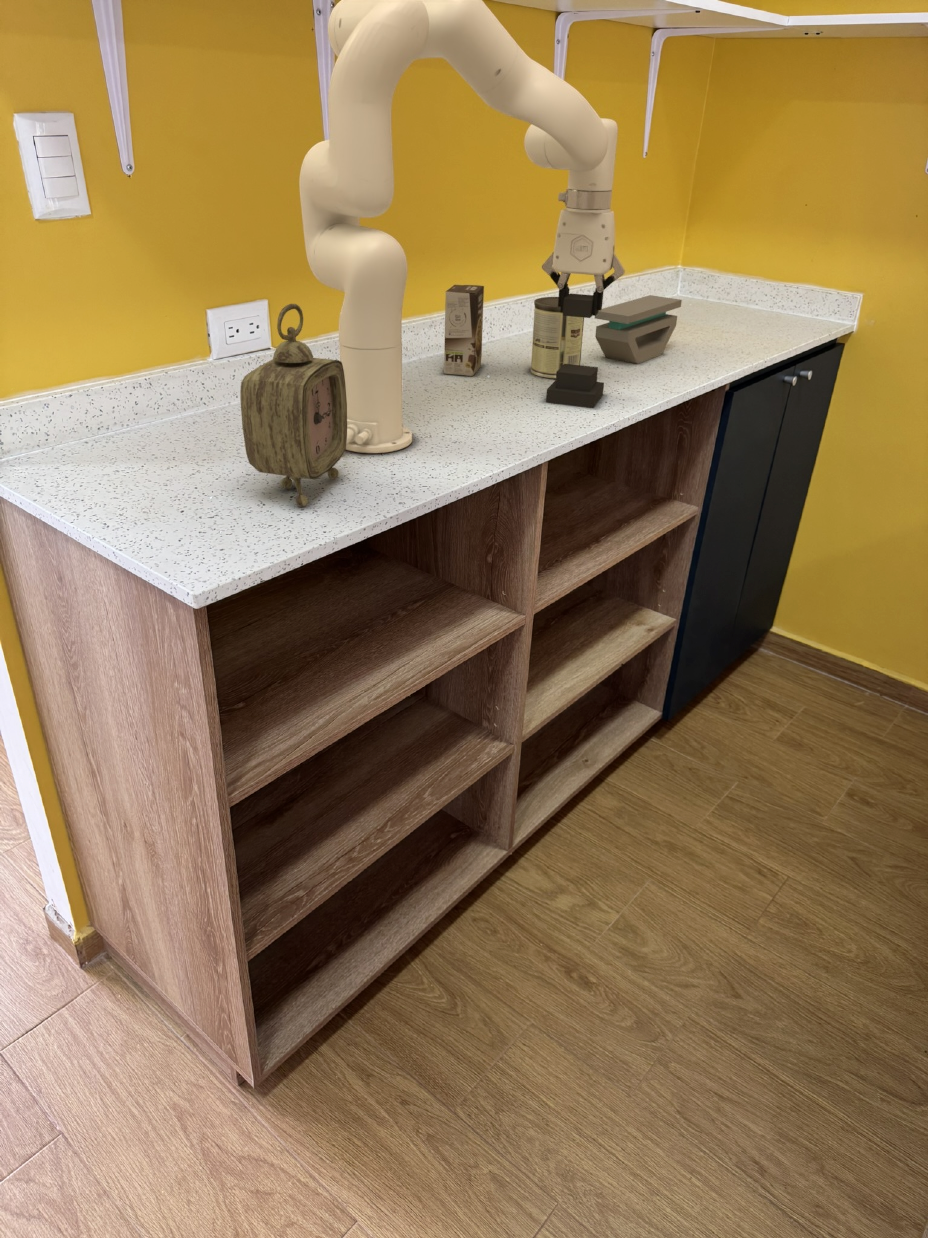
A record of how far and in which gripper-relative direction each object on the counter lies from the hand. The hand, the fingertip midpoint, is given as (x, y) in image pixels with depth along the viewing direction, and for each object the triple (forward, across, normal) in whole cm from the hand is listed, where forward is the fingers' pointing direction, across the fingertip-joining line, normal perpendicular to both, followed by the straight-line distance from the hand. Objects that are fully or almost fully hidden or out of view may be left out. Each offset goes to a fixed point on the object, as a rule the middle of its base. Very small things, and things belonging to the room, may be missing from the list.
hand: (579, 311), depth 158 cm
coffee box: (+16, -25, +11) cm, 32 cm away
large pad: (+16, 0, 0) cm, 16 cm away
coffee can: (+16, -7, +17) cm, 24 cm away
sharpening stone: (+16, +6, +38) cm, 41 cm away
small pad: (0, 0, 0) cm, 0 cm away
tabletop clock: (+16, -26, -60) cm, 67 cm away
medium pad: (+13, 0, 0) cm, 13 cm away
